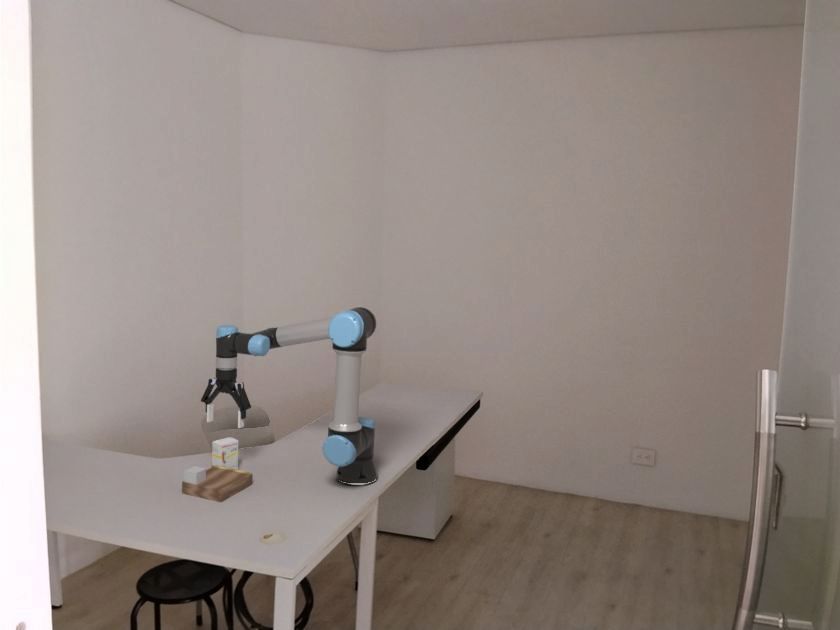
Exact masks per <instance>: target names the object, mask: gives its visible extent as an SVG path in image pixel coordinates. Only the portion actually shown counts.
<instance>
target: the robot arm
mask: <svg viewBox="0 0 840 630" xmlns="http://www.w3.org/2000/svg"><path fill="white" fill-rule="evenodd" d="M376 328H377V319H376V316H375V315H374V313H373V312H372V310H370V309H369V308H366V307H355V308H354V307H353V308H350V309H345V310H343V311H340V312H338V313H337V314H336V315H334V316H332V317H326V318H322V319H321V318H320V319H316V320H310V321H305V322H299V323H293V324H288V325H283V326H278V327H268V328H266V329H264V330H258V331H256V332H253V333H246V332H244V333H243V332H239V327H238V326H237V325H234V324H233V325H232V324H223V325H219V326H218V327H216V334H215V335H216V336H215V343H216V344H215V345H216V346H215V348H216V349H215V353H216V354H215V367H216V368H215V377H212V378H209V379H208V381H207V386H206V388H205V390H204V392H203V394H202V396H201V399H200V402H202V403H204V404H205V413H206V423H210V422H213V421H214V403H213V401H214V400H215V399H217V396H218V395H219V394H220V393H221V394H224V393H225V394H228V395H230V396H231V397H232V399H233V400H234V401H235V404H236V405H237V407H238V408H239V410H238V411H237V413H238V415H237V428H238V429H241V428H243V427H245V419H246V418H247V410H250V409H251V408H252V405H251V403H250V400H249V397H248V394H247V392H246V389H245V384H244V382H237V379H238V369H237V367H238V354H241V355H248V356H253V357H265V356H266V355H267V354H268V353H269V351H270V350H272V349H279V348H283V347H288V346H295V345H300V344H305V343H306V344H307V343H314V342H317V341H318V342H319V341H325V340H331V341H332V350H333V351H334V352H335V353H336V354H335V355H336V357H335V358H336V361H335V377H334V395H333V396H334V398H333V399H334V400H333V415H332V416H333V417H332V421H330V422H329V423H328V427H327V428H328V429H327V437H326V438H325V440H324V441H323V444H322V449H321V450H322V454H323V456H324V458H325V459H326V461H328V463H330V464H331V465H333V466H335V467H337V470H336V474H335V475H336V478H337V479H338V480H340V481H342V482H346V483H368V482H372V481H374V480H375V479H376V478H377V479H378V470H377V466H376V464H375V460H374V452H375V451H374V450H375V435H376V434H375V433H376V432H375V430H376V427H375V424H376V423H375V421H374V420H373V419H372V418H369V417H365V416H359V405H360V388H361V387H360V386H361V371H362V370H361V369H362V355H363V354H364V353H365V352H366V351H367V348H368V347H367V345H368V344H367V343H368V339H369V338H370V337H371V336H372V335H373V334H374V333H375V331H376ZM215 385H216V388H215ZM214 388H215V389H214ZM213 389H214V390H213ZM212 391H213V392H212ZM337 479H336V480H337ZM338 480H337V481H338Z"/></svg>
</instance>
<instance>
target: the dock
mask: <svg viewBox="0 0 840 630" xmlns="http://www.w3.org/2000/svg"><path fill="white" fill-rule="evenodd" d="M253 478H254V476H253V472H249V471H244V470H239V469H238V470H235V469H231V468H226V467H221V466H216V465H215V466H213V467H212V466H211V467H210V468H207V469H206V480H204V481H202V482H200V483H199V484H197V485H196V484H192V483H187V482H184V481H182V482H181V494H183V495H187V496H188V495H189V496H193V497H197V498H202V499H204V500H210V501H213V502H214V501H215V502H217V503H222V502H224V501H227V500H228V499H230V498H231V497H233V496H234V495H236V494H238V493H240V492H241V491H244V490H245V489H247V488H249V487H250V486H252V485H253Z"/></svg>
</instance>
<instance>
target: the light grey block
mask: <svg viewBox="0 0 840 630" xmlns="http://www.w3.org/2000/svg"><path fill="white" fill-rule="evenodd" d="M206 470H207V468H206V467H200V466H195V465H193V466H191V467H190V468H189V467H188V468H187V469H185V470H184V471H183V472H184V476H183V477H184V478H183V480H184V482H187V483H192V484H196V485H197V484H199V483H200V482H202V481H204V480H206Z"/></svg>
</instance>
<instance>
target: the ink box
mask: <svg viewBox="0 0 840 630" xmlns="http://www.w3.org/2000/svg"><path fill="white" fill-rule="evenodd" d="M211 445H212V450H211V451H212V452H211V453H212V454H211V468H212V467H213V466H215V465H216V466H221V467H226V468H231V469H235V470H239V439H237V438H234V437H232V436H231V437H229V436H228V437H225V438H221V439H217V440H213V441H212V444H211Z"/></svg>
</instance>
